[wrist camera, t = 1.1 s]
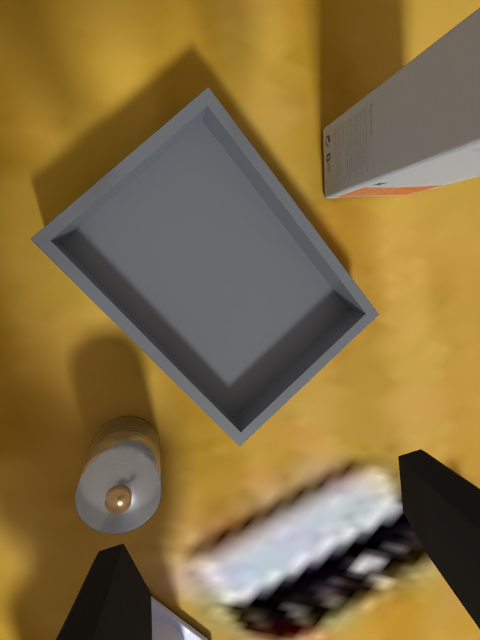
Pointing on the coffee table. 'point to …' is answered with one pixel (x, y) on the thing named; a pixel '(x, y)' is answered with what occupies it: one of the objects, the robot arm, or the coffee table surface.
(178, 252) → the grey tray
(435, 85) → the skincare box
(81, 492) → the cell
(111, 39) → the coffee table surface
